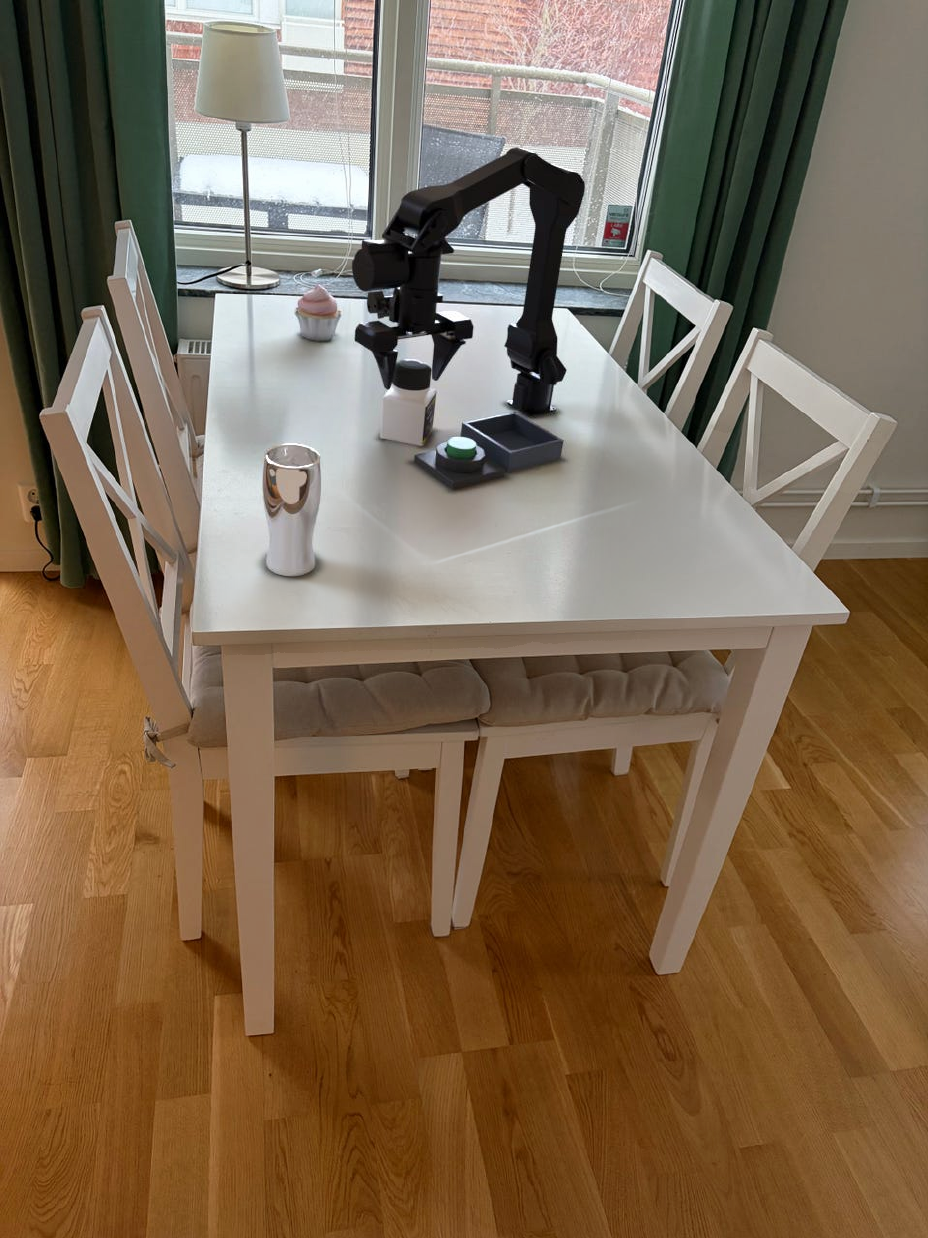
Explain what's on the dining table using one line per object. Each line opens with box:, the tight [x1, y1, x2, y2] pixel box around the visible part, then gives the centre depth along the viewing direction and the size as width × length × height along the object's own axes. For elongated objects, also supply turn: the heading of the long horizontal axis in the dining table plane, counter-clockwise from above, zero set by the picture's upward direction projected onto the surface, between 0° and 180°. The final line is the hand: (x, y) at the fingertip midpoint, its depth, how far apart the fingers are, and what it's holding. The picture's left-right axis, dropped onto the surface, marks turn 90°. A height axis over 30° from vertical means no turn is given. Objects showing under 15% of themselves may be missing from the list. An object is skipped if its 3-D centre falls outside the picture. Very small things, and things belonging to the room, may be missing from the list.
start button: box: [446, 436, 476, 459], centre depth 151 cm, size 4×4×2 cm
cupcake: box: [293, 283, 342, 342], centre depth 192 cm, size 9×9×10 cm
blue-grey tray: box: [460, 411, 565, 474], centre depth 160 cm, size 11×12×3 cm
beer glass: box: [261, 443, 322, 577], centre depth 121 cm, size 7×7×15 cm
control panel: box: [413, 441, 506, 491], centre depth 152 cm, size 10×10×3 cm
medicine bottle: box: [379, 358, 437, 447], centre depth 158 cm, size 7×7×12 cm
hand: (411, 384), depth 157 cm, fingers open, 9 cm apart
